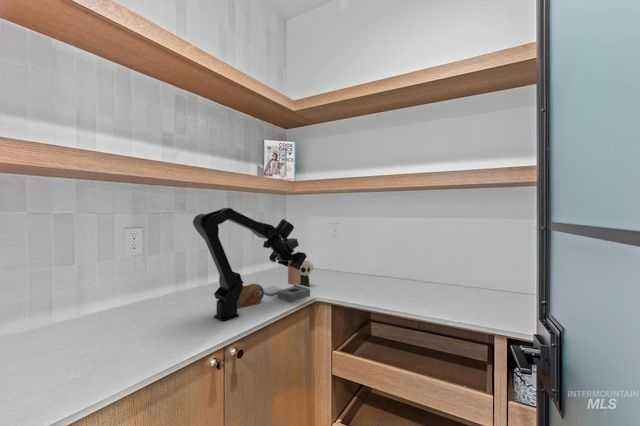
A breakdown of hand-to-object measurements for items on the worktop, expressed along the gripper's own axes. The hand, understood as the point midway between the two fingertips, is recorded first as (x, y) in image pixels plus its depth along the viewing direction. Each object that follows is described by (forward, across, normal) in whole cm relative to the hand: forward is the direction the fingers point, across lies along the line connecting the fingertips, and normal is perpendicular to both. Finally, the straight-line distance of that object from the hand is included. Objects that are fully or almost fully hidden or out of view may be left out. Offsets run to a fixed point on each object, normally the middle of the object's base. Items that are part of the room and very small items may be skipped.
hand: (296, 268), depth 126 cm
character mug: (+19, +8, 0) cm, 20 cm away
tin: (-7, +7, +25) cm, 27 cm away
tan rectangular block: (+4, 0, +6) cm, 7 cm away
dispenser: (+8, 0, +10) cm, 13 cm away
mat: (+7, +13, +11) cm, 19 cm away
